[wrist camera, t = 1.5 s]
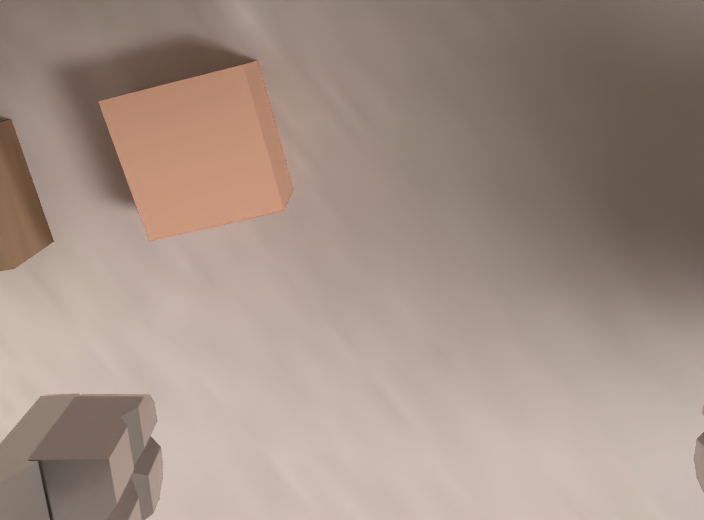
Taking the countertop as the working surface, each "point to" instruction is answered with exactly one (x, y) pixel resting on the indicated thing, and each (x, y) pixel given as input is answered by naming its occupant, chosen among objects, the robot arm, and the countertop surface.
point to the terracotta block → (200, 151)
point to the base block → (18, 205)
